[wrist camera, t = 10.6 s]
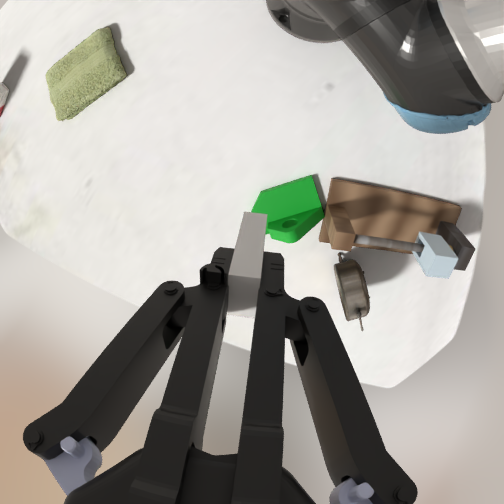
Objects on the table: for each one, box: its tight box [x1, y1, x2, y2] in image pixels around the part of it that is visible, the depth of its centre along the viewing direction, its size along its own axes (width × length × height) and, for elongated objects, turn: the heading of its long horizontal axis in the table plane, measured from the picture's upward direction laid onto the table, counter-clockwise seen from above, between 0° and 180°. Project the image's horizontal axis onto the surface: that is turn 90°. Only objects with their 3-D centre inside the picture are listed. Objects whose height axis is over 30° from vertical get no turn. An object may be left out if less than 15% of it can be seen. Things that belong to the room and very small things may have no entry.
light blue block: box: [412, 232, 459, 279], centre depth 40 cm, size 5×4×7 cm
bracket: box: [251, 175, 325, 243], centre depth 47 cm, size 12×8×7 cm, turn 112°
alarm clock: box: [334, 253, 370, 331], centre depth 49 cm, size 11×5×16 cm, turn 19°
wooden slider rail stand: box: [319, 178, 475, 271], centre depth 44 cm, size 28×12×10 cm, turn 86°
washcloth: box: [46, 27, 127, 121], centre depth 36 cm, size 13×18×3 cm
